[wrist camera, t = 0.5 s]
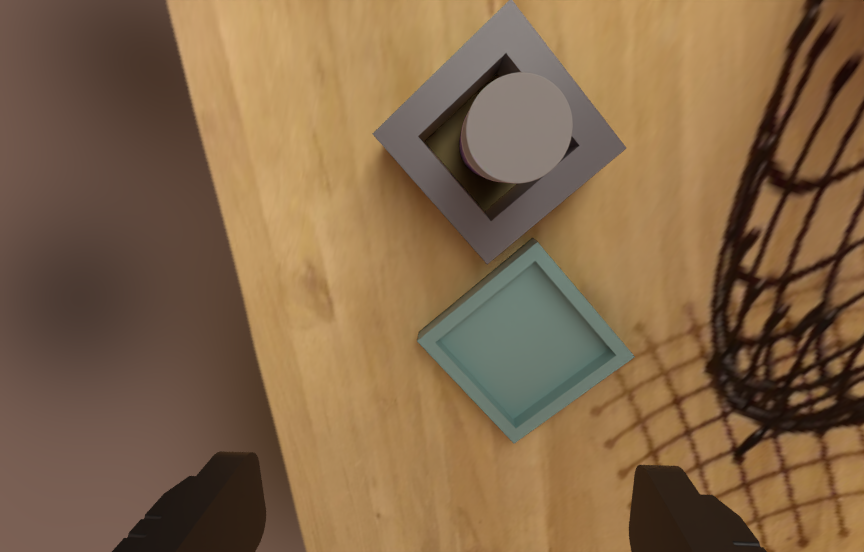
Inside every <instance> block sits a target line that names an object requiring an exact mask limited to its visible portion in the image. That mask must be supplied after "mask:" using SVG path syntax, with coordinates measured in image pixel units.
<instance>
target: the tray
mask: <svg viewBox="0 0 864 552" xmlns="http://www.w3.org/2000/svg"><path fill="white" fill-rule="evenodd" d="M417 342H418V343H419V344H420V345H421V346H422V347H423V348H424V349H425V350H426V351H427V352H428V353H429V354H430V355H431V356H432V358H433V359H434V360H435V361H436V362H437V363H438V364H439V365H440V366H441V367H442V368H443V369H444V370H445V371H446V372H447V373H448V374H449V376H450V377H451V378H452V379H453V380H454V381H455V382H456V383H457V384H458V385H459V386H460V387H461V388H462V389H463V390H464V391H465V392H466V393H467V395H468V396H469V397H470V398H471V399H472V400H473V401H474V402H475V403H476V404H477V405H478V406H479V407H480V408H481V409H482V410H483V411H484V413H485V414H486V415H487V416H488V417H489V418H490V419H491V420H492V421H493V422H494V423H495V424H496V425H497V426H498V427H499V428H500V429H501V430H502V432H503V433H504V434H505V435H506V436H507V437H508V438H509V439H510V440H511V441H512V442H513V443H516V442H517V441H518V440H520V439H521V438H523V437H524V436H525V435H527V434H528V433H530V432H531V431H532V430H534V429H535V428H537V427H538V426H539V425H541V424H542V423H543V422H545V421H546V420H548V419H549V418H550V417H552V416H553V415H555V414H556V413H557V412H559V411H560V410H562V409H563V408H564V407H566V406H567V405H569V404H570V403H571V402H573V401H574V400H575V399H577V398H578V397H580V396H581V395H582V394H584V393H585V392H587V391H588V390H589V389H591V388H592V387H594V386H595V385H596V384H598V383H599V382H600V381H602V380H603V379H605V378H606V377H607V376H609V375H610V374H612V373H613V372H614V371H616V370H617V369H619V368H620V367H621V366H623V365H624V364H625V363H627V362H628V361H630V360H631V359H632V358H634V357H635V356H634V355H633V354H632V353H631V352H630V351H629V349H628V348H627V347H626V346H625V345H624V343H623V342H622V341H621V340H620V339H619V338H618V336H617V335H616V334H615V333H614V332H613V330H612V329H611V328H610V327H609V326H608V325H607V323H606V322H605V321H604V320H603V319H602V317H601V316H600V315H599V314H598V313H597V312H596V310H595V309H594V308H593V307H592V306H591V304H590V303H589V302H588V301H587V300H586V299H585V297H584V296H583V295H582V294H581V293H580V292H579V290H578V289H577V288H576V287H575V286H574V284H573V283H572V282H571V281H570V280H569V279H568V277H567V276H566V275H565V274H564V273H563V271H562V270H561V269H560V268H559V267H558V266H557V264H556V263H555V262H554V261H553V260H552V258H551V257H550V256H549V255H548V254H547V253H546V251H545V250H544V249H543V248H542V247H541V246H540V244H539V243H538V242H537V241H536V240H535V239H534V238H532V239H531V240H529V241H528V242H527V243H526V244H525V245H523V246H522V247H521V248H520V249H519V250H517V251H516V252H515V253H514V254H512V255H511V256H510V257H509V258H508V259H506V260H505V261H504V262H503V263H502V264H500V265H499V266H498V267H497V268H496V269H494V270H493V271H492V272H491V273H490V274H488V275H487V276H486V277H485V278H483V279H482V280H481V281H480V282H479V283H477V284H476V285H475V286H474V287H473V288H471V289H470V290H469V291H468V292H467V293H465V294H464V295H463V296H462V297H461V298H459V299H458V300H457V301H456V302H455V303H453V304H452V305H451V306H450V307H448V308H447V309H446V310H445V311H444V312H442V313H441V314H440V315H439V316H438V317H436V318H435V319H434V320H433V321H432V322H430V323H429V324H428V325H427V326H426V327H424V328H423V329H422V330H421V331H420V332H419V334H418V339H417Z"/></svg>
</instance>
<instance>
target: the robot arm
mask: <svg viewBox="0 0 864 552" xmlns="http://www.w3.org/2000/svg"><path fill="white" fill-rule="evenodd" d="M265 522H266V507H265V501H264V494H263V487H262V480H261V473H260V466H259V460H258V457H257V455H256V454H255V453H253V452H218V453H216V454H215V455H214V456H213V457H212V458H211V459H210V461H209V462H208V463H207V464H206V465H205V466H204V467H203V469H202V470H201V471H200V472H199V474H197V476H189V477H187V478H186V479H185V480H183V481H182V482H180V483H179V484H177V485H176V486H174V487H173V488H172V489H170V490H169V491H167V492H166V493H164V494H163V496H161V498H160V499H159V500H158V501H157V502H156V503H155V504H154V505H153V507H152V508H151V509H150V510H149V511H148V512H147V513H146V514H145V518H144V519H141V520H140V521H139V522H138V523H137V524H136V526H135V527H134V528H133V529H132V530H131V531H130V532H129V535H128V537H127V538H124V539H123V540H122V541H121V542H120V543H119V544H118V545H117V547H116V548H115V549H114V550H113V551H112V552H255V551H256V549H257V547H258V545H259V543H260V541H261V538H262V535H263V532H264V528H265ZM629 539H630V546H631V551H632V552H766V550H765V549H764V548H763V547H760V544H759V541H758V540H757V538H756V537H755V536H754V534H753V533H752V532H751V531H750V529H749V528H748V527H747V525H746V524H745V523H744V521H743V520H742V519H741V517H740V516H739V515H737V514H736V513H735V512H733V511H732V510H731V509H730V508H728V507H727V506H726V505H725V504H723V503H722V502H721V501H719V500H718V499H717V498H716V497H714V496H713V495H700V494H699V492H698V491H697V489H696V488H695V487H694V485H693V484H692V482H691V481H690V479H689V478H688V476H687V475H686V473H685V472H684V471H683V470H682V469H681V468H680V467H679V466H661V465H638V466H637V468H636V471H635V476H634V485H633V494H632V503H631V512H630V521H629Z"/></svg>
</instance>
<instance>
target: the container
mask: <svg viewBox="0 0 864 552" xmlns="http://www.w3.org/2000/svg"><path fill="white" fill-rule="evenodd" d="M572 130H573V121H572V114H571V110H570V106H569V104H568V102H567V100H566V98H565V96H564V95H563V93H562V92H561V90H560V89H559V88H558V87H557V86H556V85H555V84H553V83H552V82H551V81H549V80H548V79H546V78H544V77H542V76H539V75H536V74H533V73H525V72H518V73H511V74H507V75H504V76H502V77H499V78H497V79H496V80H494V81H492V82H491V83H489V84H488V85H487V86H486V87H485V88H484V89H483V90H482V91H481V92H480V93H479V94H478V96H477V97H476V99H475V100H474V102H473V104H472V106H471V108H470V110H469V111H468V113H467V115H466V117H465V119H464V122H463V126H462V130H461V135H460V141H459V149H460V155H461V158H462V160H463V162H464V163H465V165H466V166H467V167H468V168H469V169H470V170H471V171H472V172H474V173H475V174H477V175H479V176H482V177H484V178H486V179H489V180H491V181H495V182H504V183H514V184H520V183H527V182H531V181H534V180H537V179H539V178H541V177H543V176H545V175H546V174H548V173H549V172H550V171H552V170H553V169H554V168H555V167H556V166H557V165H558V164H559V162H560V161H561V160H562V158H563V157H564V155H565V153H566V151H567V149H568V147H569V144H570V141H571V137H572Z"/></svg>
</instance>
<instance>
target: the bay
mask: <svg viewBox="0 0 864 552" xmlns="http://www.w3.org/2000/svg"><path fill="white" fill-rule="evenodd" d="M518 72H525V73H533V74H536V75H539V76H542V77H544V78H546V79H548V80H549V81H551V82H552V83H553V84H555V85H556V86H557V87H558V88H559V89H560V90H561V92H562V93H563V95H564V96H565V98H566V100H567V102H568V104H569V106H570V110H571V114H572V121H573V130H572V137H571V141H570V144H569V147H568V149H567V151H566V153H565V155H564V157H563V158H562V160H561V161H560V162H559V164H558V165H557V166H556V167H555V168H554V169H553V170H552V171H550V172H549V173H548V174H546V175H545V176H543V177H541V178H539V179H537V180H534V181H531V182H527V183H520V184H516V185H515V186H514V187H513V188H512V189H511V190H509V191H508V192H507V193H506V194H505V195H504V196H502V197H501V198H500V199H499V200H498V201H497V202H496V203H494V204H493V205H492V206H491V207H490V208H489V209H487V210H486V211H484V210H483V209H482V208H481V207H480V206H479V204H478V203H477V202H476V201H475V200H474V199H473V197H472V196H471V195H470V194H469V193H468V192H467V191H466V189H465V188H464V187H463V186H462V185H461V184H460V182H459V181H458V180H457V179H456V178H455V177H454V175H453V174H452V173H451V172H450V171H449V170H448V168H447V167H446V166H445V165H444V164H443V163H442V161H441V160H440V159H439V158H438V157H437V156H436V154H435V153H434V152H433V151H432V150H431V149H430V147H429V146H428V145H427V144H426V143H425V142H424V141H425V140H426V139H427V138H428V137H429V136H431V135H432V134H433V133H434V132H435V131H436V130H437V129H438V128H439V127H440V126H441V125H442V124H443V123H444V122H445V121H446V120H448V119H449V118H450V117H451V116H452V115H453V114H454V113H455V112H456V111H457V110H458V109H459V108H460V107H461V106H462V105H463V104H465V103H466V102H467V101H468V100H469V99H470V98H471V97H472V96H473V95H474V94H475V93H476V92H477V91H478V90H479V89H480V88H482V87H483V86H484V85H485V84H486V83H487V82H488V81H489V80H490V79H491V78H492V77H493V76H494V75H495V74H496V73H497V74H498V76H499V77H502V76H504V75H507V74H511V73H518ZM373 135H374V136H375V137H376V139H377V140H378V141H379V142H380V143H381V144H382V145H383V146H384V148H385V149H386V150H387V151H388V152H389V153H390V154H391V156H392V157H393V158H394V159H395V160H396V161H397V162H398V164H399V165H400V166H401V167H402V168H403V169H404V170H405V171H406V173H407V174H408V175H409V176H410V177H411V178H412V179H413V181H414V182H415V183H416V184H417V185H418V186H419V187H420V189H421V190H422V191H423V192H424V193H425V194H426V195H427V196H428V198H429V199H430V200H431V201H432V202H433V203H434V204H435V206H436V207H437V208H438V209H439V210H440V211H441V212H442V214H443V215H444V216H445V217H446V218H447V219H448V220H449V222H450V223H451V224H452V225H453V226H454V227H455V228H456V229H457V231H458V232H459V233H460V234H461V235H462V236H463V237H464V239H465V240H466V241H467V242H468V243H469V244H470V245H471V247H472V248H473V249H474V250H475V251H476V252H477V253H478V254H479V256H480V257H481V258H482V259H483V260H484V261H485V262H486V264H488V263H490V262H491V261H492V260H493V259H494V258H496V257H497V256H498V255H499V254H500V253H502V252H503V251H504V250H505V249H506V248H508V247H509V246H510V245H511V244H512V243H513V242H515V241H516V240H517V239H518V238H519V237H521V236H522V235H523V234H524V233H525V232H527V231H528V230H529V229H530V228H531V227H533V226H534V225H535V224H536V223H537V222H539V221H540V220H541V219H542V218H543V217H545V216H546V215H547V214H548V213H549V212H551V211H552V210H553V209H554V208H555V207H557V206H558V205H559V204H560V203H561V202H563V201H564V200H565V199H566V198H567V197H569V196H570V195H571V194H572V193H573V192H575V191H576V190H577V189H578V188H579V187H581V186H582V185H583V184H584V183H585V182H587V181H588V180H589V179H590V178H591V177H593V176H594V175H595V174H596V173H597V172H599V171H600V170H601V169H602V168H603V167H605V166H606V165H607V164H608V163H609V162H611V161H612V160H613V159H614V158H615V157H617V156H618V155H619V154H620V153H621V152H623V151H624V150H625V149H626V147H625V145H624V144H623V143H622V142H621V140H620V139H619V138H618V136H617V135H616V134H615V133H614V131H613V130H612V129H611V127H610V126H609V125H608V123H607V122H606V121H605V120H604V118H603V117H602V116H601V114H600V113H599V112H598V111H597V109H596V108H595V107H594V105H593V104H592V103H591V102H590V100H589V99H588V98H587V96H586V95H585V94H584V92H583V91H582V90H581V89H580V87H579V86H578V85H577V83H576V82H575V81H574V80H573V78H572V77H571V76H570V74H569V73H568V72H567V70H566V69H565V68H564V67H563V65H562V64H561V63H560V61H559V60H558V59H557V58H556V56H555V55H554V54H553V52H552V51H551V50H550V49H549V47H548V46H547V45H546V43H545V42H544V41H543V39H542V38H541V37H540V36H539V34H538V33H537V32H536V30H535V29H534V28H533V27H532V25H531V24H530V23H529V21H528V20H527V19H526V17H525V16H524V15H523V14H522V12H521V11H520V10H519V8H518V7H517V6H516V5H515V3H514V2H513V1H512V0H509V1H508V2H507V3H506V4H505V5H504V6H503V7H502V8H501V9H500V10H499V11H498V12H497V13H496V14H495V15H494V16H493V17H492V18H491V19H490V20H489V21H488V22H487V23H486V24H484V25H483V26H482V27H481V28H480V29H479V30H478V31H477V32H476V33H475V34H474V35H473V36H472V37H471V38H470V39H469V40H468V41H467V42H466V43H465V44H464V45H463V46H462V47H461V48H460V49H459V50H458V51H457V52H456V53H455V54H454V55H453V56H452V57H451V58H450V59H449V60H448V61H447V62H446V63H445V64H443V65H442V66H441V67H440V68H439V69H438V70H437V71H436V72H435V73H434V74H433V75H432V76H431V77H430V78H429V79H428V80H427V81H426V82H425V83H424V84H423V85H422V86H421V87H420V88H419V89H418V90H417V91H416V92H415V93H414V94H413V95H412V96H411V97H410V98H409V99H408V100H407V101H406V102H405V103H404V104H402V105H401V106H400V107H399V108H398V109H397V110H396V111H395V112H394V113H393V114H392V115H391V116H390V117H389V118H388V119H387V120H386V121H385V122H384V123H383V124H382V125H381V126H380V127H379V128H378V129H377V130H376V131H375V132H374V133H373Z"/></svg>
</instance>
